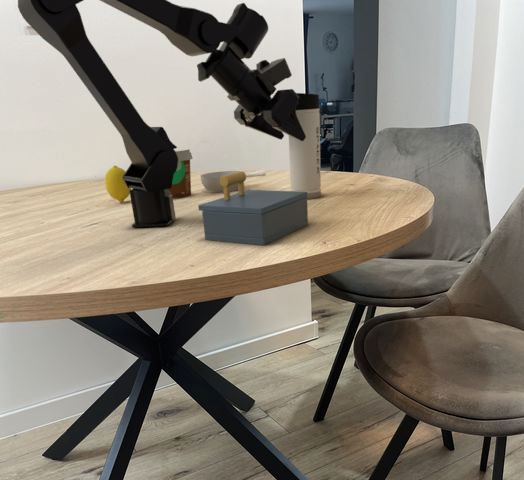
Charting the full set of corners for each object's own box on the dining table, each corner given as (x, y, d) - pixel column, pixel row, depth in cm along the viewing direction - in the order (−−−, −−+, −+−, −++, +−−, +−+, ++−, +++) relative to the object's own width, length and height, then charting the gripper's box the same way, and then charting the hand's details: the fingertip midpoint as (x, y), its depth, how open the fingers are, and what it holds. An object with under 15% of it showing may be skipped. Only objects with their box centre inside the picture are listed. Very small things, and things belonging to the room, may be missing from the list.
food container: (137, 200, 117) (129, 154, 113) (148, 196, 123) (141, 151, 118) (187, 199, 114) (181, 151, 110) (196, 194, 120) (191, 149, 115)
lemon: (127, 204, 114) (120, 166, 110) (104, 205, 115) (97, 167, 112) (137, 199, 119) (131, 163, 115) (115, 200, 120) (109, 164, 116)
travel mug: (285, 196, 110) (280, 92, 101) (313, 192, 111) (311, 90, 102) (295, 200, 104) (291, 91, 95) (325, 197, 106) (324, 88, 97)
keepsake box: (205, 239, 79) (201, 211, 77) (253, 220, 90) (251, 194, 88) (263, 245, 74) (261, 214, 72) (308, 224, 84) (307, 197, 82)
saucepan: (221, 184, 132) (219, 169, 130) (278, 187, 122) (278, 170, 120) (192, 191, 124) (190, 175, 122) (252, 195, 114) (250, 177, 113)
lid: (198, 210, 78) (195, 180, 76) (248, 194, 88) (246, 167, 86) (261, 214, 72) (259, 181, 70) (307, 196, 82) (306, 168, 80)
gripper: (286, 34, 85) (343, 103, 94) (243, 47, 100) (295, 105, 109) (247, 91, 86) (306, 153, 94) (210, 95, 101) (264, 148, 110)
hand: (293, 138), depth 102 cm, fingers open, 9 cm apart
